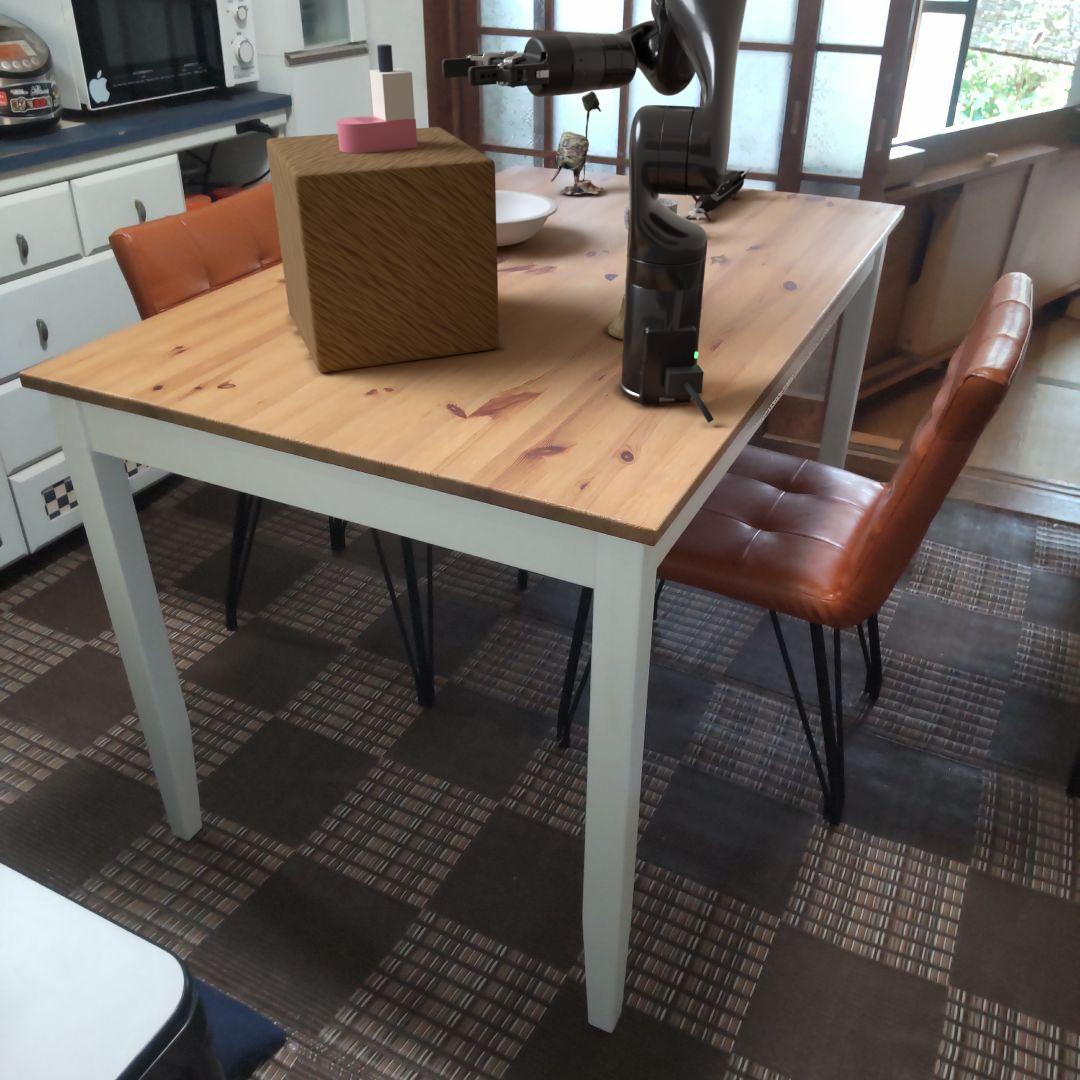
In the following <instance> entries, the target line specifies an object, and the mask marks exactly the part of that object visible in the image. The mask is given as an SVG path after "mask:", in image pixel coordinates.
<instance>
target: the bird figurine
mask: <svg viewBox="0 0 1080 1080" xmlns="http://www.w3.org/2000/svg"><path fill="white" fill-rule="evenodd" d="M581 102H582V105H583V107H584V110H585V111H586V124H585V135H582V134H579V133H575V132H572V131H568V130H567V131H566V130H563V132H562V134H561V136H560V138H559V142H558V145H557V146H558V147H557V150H556V155H555V161H556V165H557V166H558V168H557V169H556V171H555V173H554V174H553V176H552V177H551V178H550V183H553V182H554V180H556V178H557V177H558V175H559V174H560V172H561V171H562V169H565V170H569V171H571V172H572V173H573V180H574V184H573V185H568V186H566V187H565V188H564V189H563V191H562V192H561V194H562V195H568V196H569V195H570V196H571V195H582V194H584V193H585V194H589V193H590V194H594V195H598V194H599V193H600V192H601V191H603V190H604V187H602V186H601V187H599V186H597V185H596V184H594V183H592V180H591V179H585V176H586V162H587V161H586V160H587V159H586V158H587V157H588V152H589V148H590V142H589V138H588V129H589V120H590V112H592V111H593V110H594V111H595V110H598V112H600V113H601V112H602V109H601V107H600V101H599V98H598V96H597V94H596V93H595V91H594V90H593V91H589V92H587V93H586V94H584V95H583V96H582V97H581ZM582 170H583V179H580V177H581V172H582Z"/></svg>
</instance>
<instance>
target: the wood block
mask: <svg viewBox="0 0 1080 1080" xmlns="http://www.w3.org/2000/svg"><path fill="white" fill-rule="evenodd" d="M416 132H417V148H409V149H399V150H389V151H379V152H369V153H346V152H342V151H340V150H339V140H338V133H329V134H328V133H327V134H314V135H313V134H312V135H299V136H283V137H282V136H281V137H271V138H268V139H267V140H266V152H267V159H268V165H269V166H268V167H269V174H270V180H271V188H272V196H273V203H274V210H275V217H276V225H277V232H278V239H279V248H280V254H281V261H282V269H283V276H284V284H285V291H286V292H285V293H286V298H287V305H288V306H287V307H288V312H289V315H290V316H291V318H292V320H293V322H294V325H295V326H296V329H297V331H298V333H299V334H300V337H301V338H302V341H303V343H304V345H305V347H306V350H307V351H308V353H309V355H310V357H311V359H312V360H313V363H314V365H315V367H316V369H317V371H318V372H320V373H331V372H339V371H346V370H352V369H360V368H368V367H375V366H381V365H389V364H395V363H396V364H397V363H402V362H403V363H404V362H412V361H419V360H426V359H433V358H441V357H445V356H446V357H448V356H455V355H462V354H463V355H464V354H468V353H469V354H470V353H477V352H482V351H483V352H484V351H492V350H496V349H498V348H499V346H500V324H499V323H500V321H499V318H500V317H499V281H498V280H499V279H498V278H499V277H498V246H497V231H496V190H497V189H496V164H495V161H494V159H492V158H491V157H489V156H487V155H486V154H485V153H482V152H481V151H479V150H478V149H476V148H475V147H473V146H471V145H470V144H469V143H466V142H464V141H463V140H461V139H459V138H458V137H456V135H453V134H451V133H449V131H447V130H445V129H444V128H441V126H440V127H439V126H434V127H433V126H432V127H420V128H419V127H418V128H417V127H416Z"/></svg>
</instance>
